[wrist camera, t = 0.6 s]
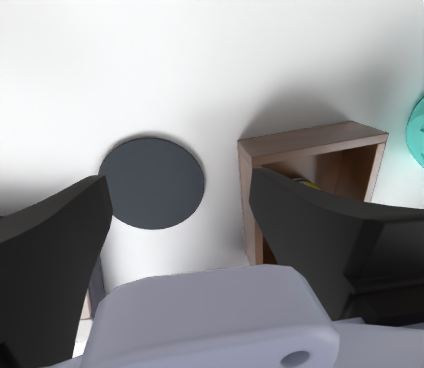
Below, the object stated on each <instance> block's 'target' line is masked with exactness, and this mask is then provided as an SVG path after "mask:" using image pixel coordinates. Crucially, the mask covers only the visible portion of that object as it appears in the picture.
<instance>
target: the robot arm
mask: <svg viewBox="0 0 424 368" xmlns="http://www.w3.org/2000/svg"><path fill="white" fill-rule="evenodd" d="M249 205H250V208H251V211H252V213H253V216H254V218H255V220H256V222H257V224H258V226H259V228H260V230H261V231H262V233H263V235H264V237H265V239H266V240H267V242H268V244H269V246H270V248H271V250H272V252H273V254H274V256H275V258H276V261H277V263H278V265H269V264H261V265H252V266H243V267H234V268H225V269H216V270H207V271H198V272H189V273H180V274H171V275H162V276H153V277H146V278H143V279H139V280H136V281H133V282H129V283H126V284H123V285H120V286H117V287H116V288H115V289H114V290H113V291H111V292H110V293H109V294H108V295H107V296H106V297H105V298H104V299H103V300H102V301H100V302H99V303H98V307H97V310H96V313H95V317H94V320H93V323H92V327H91V330H90V333H89V337H88V340H87V343H86V347H85V350H84V353H83V355H80V356H77V357H75V358H72V356H73V350H74V346H75V341H76V336H77V332H78V327H79V322H80V318H81V314H82V310H83V305H84V301H85V297H86V293H87V290H88V286H89V282H90V279H91V275H92V272H93V269H94V267H95V264H96V262H97V259H98V257H99V254H100V252H101V249H102V247H103V244H104V242H105V239H106V236H107V234H108V231H109V229H110V225H111V220H112V215H113V207H112V203H111V198H110V194H109V189H108V185H107V180H106V176H105V175H93V176H89V177H87V178H84V179H82V180H80V181H79V182H77V183H75V184H73V185H71V186H69V187H68V188H66V189H64V190H62V191H60V192H58V193H57V194H55V195H53V196H51V197H49V198H47V199H45V200H43V201H41V202H39V203H37V204H34V205H32V206H30V207H28V208H26V209H23V210H21V211H18V212H16V213H14V214H11V215H9V216H6V217H3V218H0V368H424V209H416V208H406V207H396V206H388V205H382V204H375V203H369V202H364V201H359V200H354V199H350V198H346V197H342V196H338V195H334V194H331V193H328V192H324V191H321V190H318V189H315V188H312V187H310V186H307V185H305V184H302V183H300V182H297V181H295V180H293V179H290V178H288V177H286V176H284V175H282V174H279V173H277V172H275V171H272V170H270V169H267V168H252V176H251V184H250V193H249Z"/></svg>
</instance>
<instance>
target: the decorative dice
mask: <svg viewBox="0 0 424 368" xmlns="http://www.w3.org/2000/svg"><path fill="white" fill-rule="evenodd" d="M406 141H407V145H408V147H409V150H410V152H411V153H412V155H413V157H414V158H415V159H416V161H417V162H418V163H419V164H420V165H421V166H422V167H423V168H424V97H423V98H422V99H421V101H420V102H419V103H418V104H417V106H416V107H415V109H414V111H413V112H412V114H411V116H410V119H409V121H408V125H407V129H406Z"/></svg>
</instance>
